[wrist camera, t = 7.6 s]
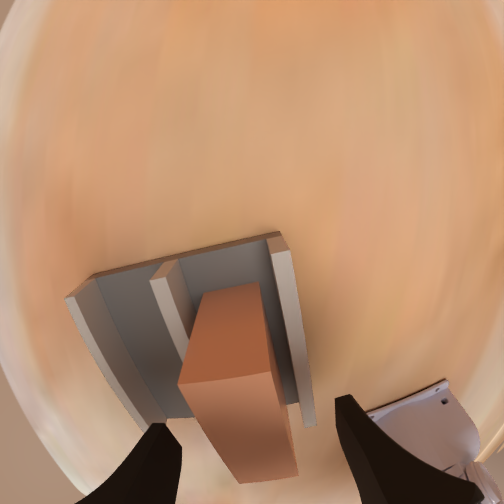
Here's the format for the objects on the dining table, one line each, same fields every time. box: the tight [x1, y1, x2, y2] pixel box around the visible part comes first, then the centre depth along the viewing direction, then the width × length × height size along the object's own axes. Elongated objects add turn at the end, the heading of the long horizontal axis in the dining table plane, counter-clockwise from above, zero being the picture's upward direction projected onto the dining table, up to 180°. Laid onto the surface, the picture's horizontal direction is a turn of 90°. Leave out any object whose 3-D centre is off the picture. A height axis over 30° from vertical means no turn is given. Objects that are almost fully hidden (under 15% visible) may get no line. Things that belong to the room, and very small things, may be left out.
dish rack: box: [64, 231, 317, 433], centre depth 15 cm, size 12×12×4 cm
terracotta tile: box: [177, 281, 299, 484], centre depth 12 cm, size 8×3×7 cm, turn 13°
